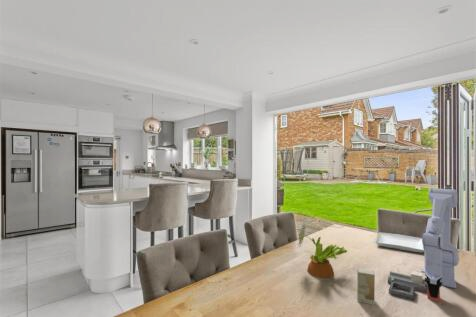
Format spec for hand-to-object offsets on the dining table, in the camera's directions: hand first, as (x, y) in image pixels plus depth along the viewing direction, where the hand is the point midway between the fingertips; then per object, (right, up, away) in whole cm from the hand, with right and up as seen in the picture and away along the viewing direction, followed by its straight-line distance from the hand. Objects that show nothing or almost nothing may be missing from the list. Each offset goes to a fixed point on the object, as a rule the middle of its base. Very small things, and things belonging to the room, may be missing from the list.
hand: (433, 294), depth 104 cm
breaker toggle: (0, 0, +10) cm, 10 cm away
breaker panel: (-3, -2, +12) cm, 13 cm away
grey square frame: (-11, -2, +4) cm, 11 cm away
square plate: (+28, -2, +65) cm, 70 cm away
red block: (0, -1, 0) cm, 1 cm away
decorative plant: (-38, -2, +24) cm, 45 cm away
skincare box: (-29, -2, -1) cm, 29 cm away
